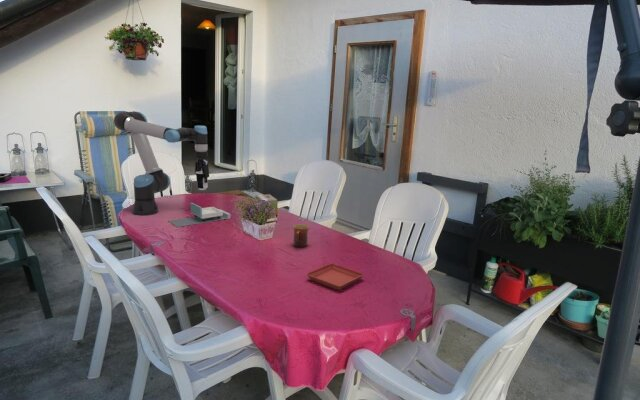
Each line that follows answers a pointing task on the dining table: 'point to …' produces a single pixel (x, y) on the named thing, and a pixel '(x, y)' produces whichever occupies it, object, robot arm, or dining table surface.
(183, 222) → the track
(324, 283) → the plant saucer
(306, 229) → the mug
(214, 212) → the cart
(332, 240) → the dining table surface
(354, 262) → the dining table surface
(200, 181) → the dixie cup
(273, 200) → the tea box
